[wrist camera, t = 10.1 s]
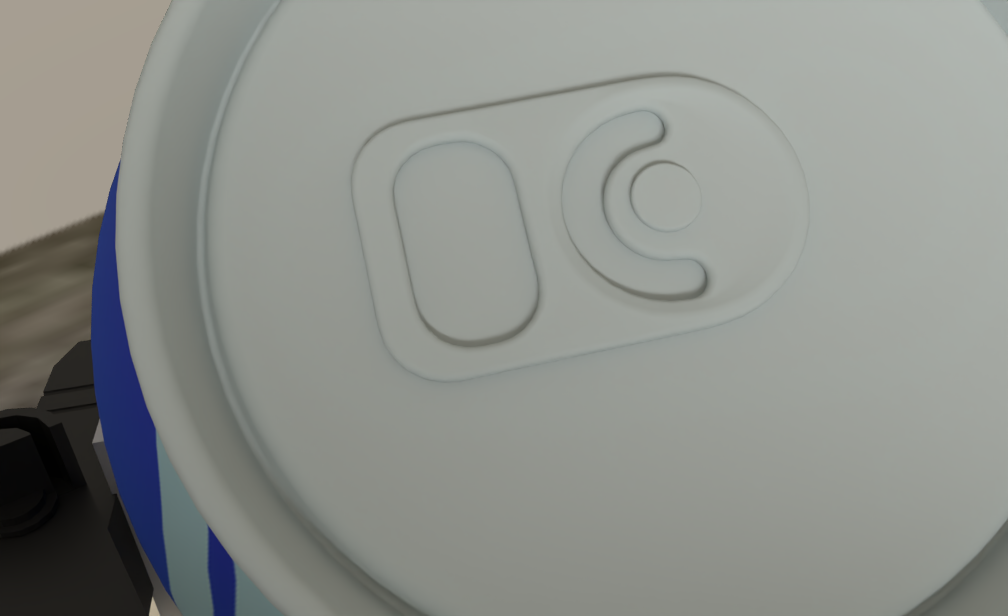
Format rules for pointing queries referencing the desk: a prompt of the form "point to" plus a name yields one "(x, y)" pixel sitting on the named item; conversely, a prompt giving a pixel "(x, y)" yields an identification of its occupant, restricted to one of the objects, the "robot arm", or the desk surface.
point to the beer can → (563, 308)
